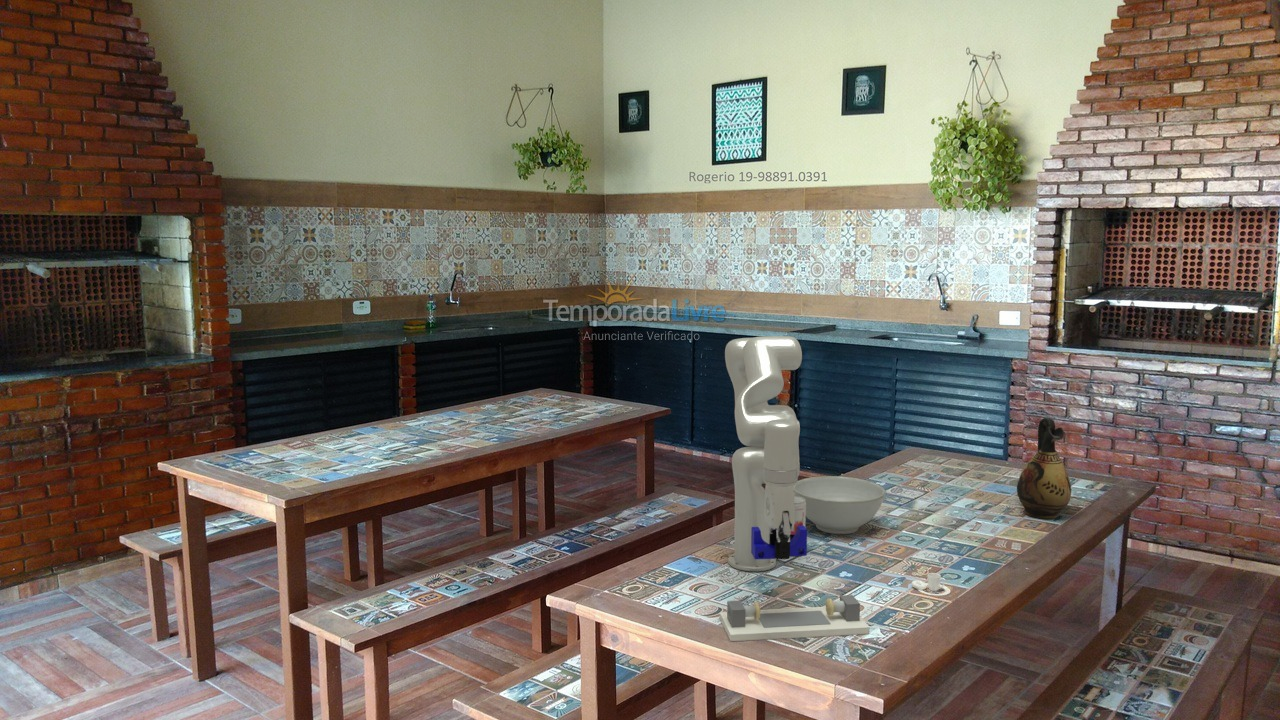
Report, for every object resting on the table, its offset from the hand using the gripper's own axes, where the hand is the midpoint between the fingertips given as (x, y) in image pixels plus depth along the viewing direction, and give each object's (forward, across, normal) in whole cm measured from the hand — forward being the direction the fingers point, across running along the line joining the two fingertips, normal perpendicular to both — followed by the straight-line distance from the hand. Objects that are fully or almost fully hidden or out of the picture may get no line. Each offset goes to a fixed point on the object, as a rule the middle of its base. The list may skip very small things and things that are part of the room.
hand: (779, 553), depth 209 cm
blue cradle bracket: (+1, 0, 0) cm, 1 cm away
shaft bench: (+16, +3, +3) cm, 16 cm away
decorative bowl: (+15, -63, +33) cm, 73 cm away
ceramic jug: (+15, -69, +100) cm, 123 cm away
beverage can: (+15, -43, +15) cm, 48 cm away
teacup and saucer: (+16, -17, +42) cm, 48 cm away
